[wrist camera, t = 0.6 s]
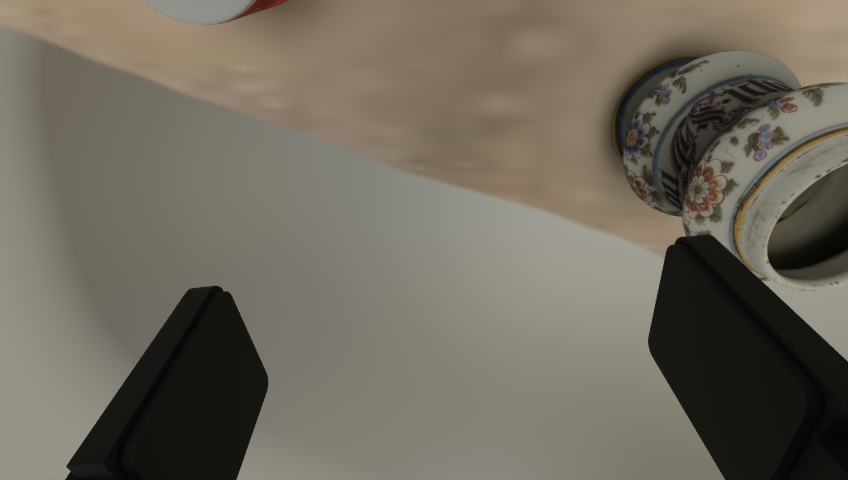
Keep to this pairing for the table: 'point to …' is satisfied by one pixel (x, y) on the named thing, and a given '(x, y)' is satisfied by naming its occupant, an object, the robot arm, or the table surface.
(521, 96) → the table surface
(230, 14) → the canned food
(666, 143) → the apothecary jar
